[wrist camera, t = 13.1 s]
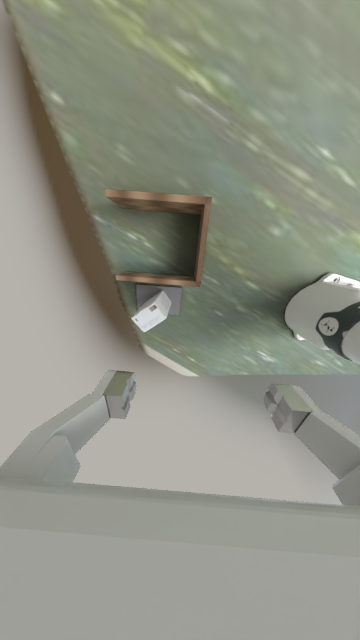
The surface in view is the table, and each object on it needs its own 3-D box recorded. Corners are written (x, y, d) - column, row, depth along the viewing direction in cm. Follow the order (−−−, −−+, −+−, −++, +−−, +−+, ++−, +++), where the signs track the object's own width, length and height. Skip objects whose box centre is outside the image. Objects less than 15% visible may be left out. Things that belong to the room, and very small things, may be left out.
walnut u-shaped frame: (206, 209, 30) (211, 197, 23) (197, 281, 36) (200, 286, 30) (122, 202, 30) (105, 188, 24) (128, 275, 36) (116, 280, 30)
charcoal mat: (181, 287, 37) (181, 287, 37) (179, 315, 41) (179, 315, 40) (136, 283, 37) (135, 284, 37) (138, 311, 41) (137, 312, 40)
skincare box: (155, 312, 40) (144, 335, 29) (145, 300, 38) (129, 318, 28) (172, 301, 38) (167, 320, 27) (162, 287, 37) (153, 302, 26)
